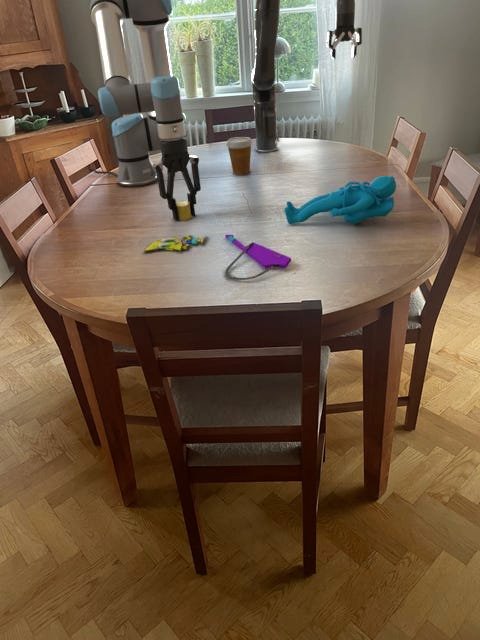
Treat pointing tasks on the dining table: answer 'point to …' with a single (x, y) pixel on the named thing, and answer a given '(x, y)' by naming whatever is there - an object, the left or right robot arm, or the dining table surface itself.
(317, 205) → the toy
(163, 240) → the toy
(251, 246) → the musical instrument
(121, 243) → the dining table surface
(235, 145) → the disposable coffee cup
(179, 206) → the canister
